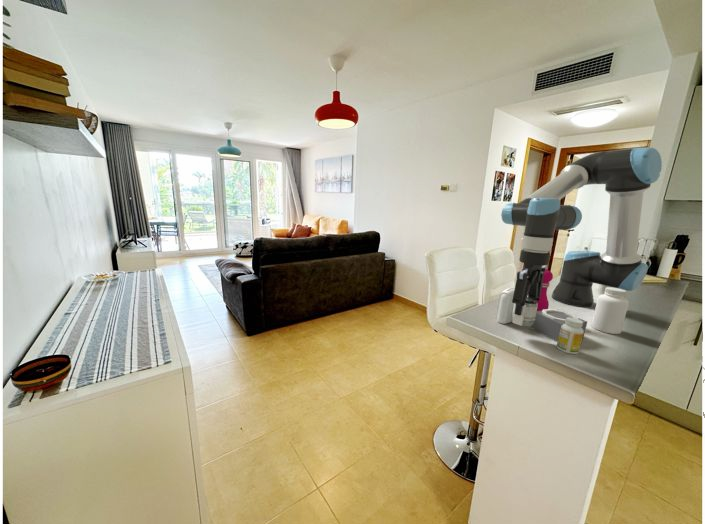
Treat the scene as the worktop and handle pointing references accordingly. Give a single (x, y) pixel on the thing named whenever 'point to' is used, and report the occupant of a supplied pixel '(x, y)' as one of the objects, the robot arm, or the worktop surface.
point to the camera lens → (529, 312)
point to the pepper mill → (544, 290)
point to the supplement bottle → (570, 336)
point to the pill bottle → (610, 311)
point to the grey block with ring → (552, 322)
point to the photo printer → (505, 306)
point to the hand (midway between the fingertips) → (522, 321)
